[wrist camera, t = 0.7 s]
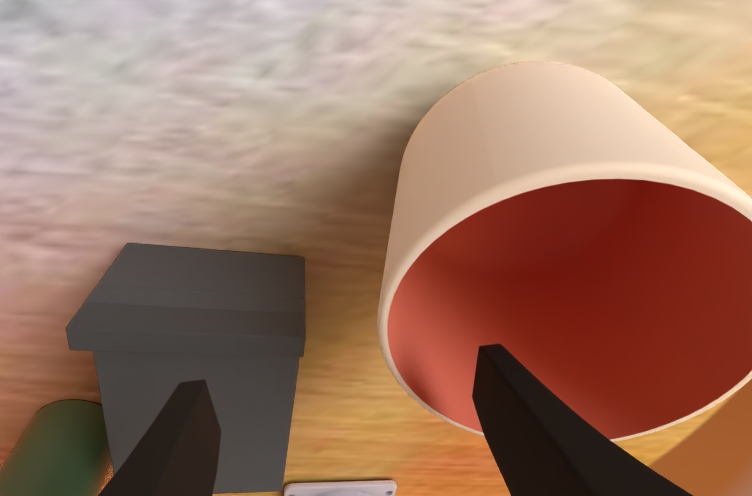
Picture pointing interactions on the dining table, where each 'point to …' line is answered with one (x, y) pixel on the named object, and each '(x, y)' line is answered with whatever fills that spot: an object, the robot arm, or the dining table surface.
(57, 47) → the dining table surface
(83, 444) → the canister
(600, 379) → the cup
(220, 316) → the grey channel-top block
